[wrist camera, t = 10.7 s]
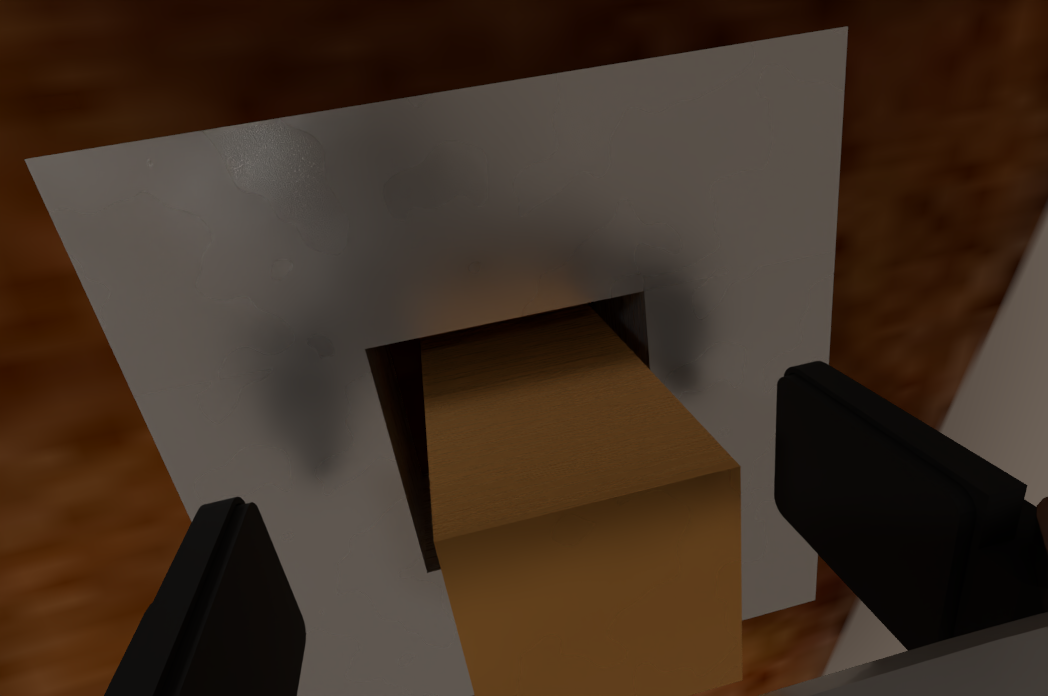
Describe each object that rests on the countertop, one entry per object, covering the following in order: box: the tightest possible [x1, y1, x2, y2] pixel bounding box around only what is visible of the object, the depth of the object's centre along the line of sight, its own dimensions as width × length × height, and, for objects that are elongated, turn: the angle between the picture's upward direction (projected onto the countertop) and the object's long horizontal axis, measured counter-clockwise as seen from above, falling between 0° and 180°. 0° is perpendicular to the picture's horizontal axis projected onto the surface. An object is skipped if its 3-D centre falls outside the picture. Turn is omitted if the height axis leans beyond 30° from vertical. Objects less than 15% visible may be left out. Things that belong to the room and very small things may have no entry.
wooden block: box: [420, 303, 742, 696], centre depth 12 cm, size 4×4×9 cm
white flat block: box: [24, 26, 848, 696], centre depth 15 cm, size 14×14×4 cm
